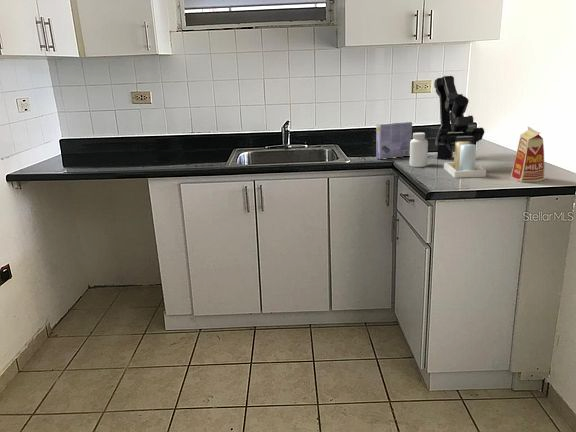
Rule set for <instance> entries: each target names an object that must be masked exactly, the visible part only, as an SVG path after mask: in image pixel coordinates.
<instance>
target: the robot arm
mask: <svg viewBox="0 0 576 432" xmlns="http://www.w3.org/2000/svg"><path fill="white" fill-rule="evenodd" d="M433 86H434V89H435V93H436V94H437V96H438V97H439V115H440V127H439V129H438V130H437V134H436V137H435V141H434V144H435V146H436V147H437V153H436V154H437V155H436V158H435V159H436V160H438V159H439V160H450V159H452V158H453V157H454V148H453V147H455V142H457V141H456V140H457V138H469V137H470V138H471V142H470V143H471V144H474V145H476V146H477V143H478V142H479V141H481V140H482V139H483V136H484V134H485V129H484V127H473V129H472V131H467V130H468V129H469V125H472V124H473V123H474V116H473V115H467V116H464V115H465V113H466V110H467V108H468V104H469V101H470V100H469V98H468V97H466V96H465V95H463V93H458V91H457V89H456V85H455V77H454V76H453V75H443V76H442V77H437V78H436V79H435V80H434V82H433Z"/></svg>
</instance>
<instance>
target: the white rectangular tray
mask: <svg viewBox="0 0 576 432" xmlns="http://www.w3.org/2000/svg"><path fill="white" fill-rule="evenodd" d="M443 169H444V170H445V171H446V172H447V173H449V175H450V176H452V177H453V178H454V179H459V178H460V179H463V178H486V177H487V170H486V169H485V168H483V167H481V166H480V165H479V164H477V163H475V170H472V171H459V169H454V161H452V162H450V161H449V162H443Z"/></svg>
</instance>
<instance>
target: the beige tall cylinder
mask: <svg viewBox="0 0 576 432" xmlns="http://www.w3.org/2000/svg"><path fill="white" fill-rule="evenodd" d="M462 144H471V142H470V141H468V140H463V141H462V140H459V141H458V140H457V141H456V142H455V146H454V153H453V157H454V158H453V159H454V161H453V162H454V169H459V163H460V145H462Z"/></svg>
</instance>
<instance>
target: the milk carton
mask: <svg viewBox="0 0 576 432" xmlns="http://www.w3.org/2000/svg"><path fill="white" fill-rule="evenodd" d="M540 134H541V132H540V131H537V130H535V129H533V128H532V127H531V126H527V130H526V131H524V132H523V133H521V134H520V135H519V140H518V145H517V149H516V155H515V157H514V162H513V167H512V169H511V172H510V178H512V179H515V180H517V181H518V182H519V183H526V182H528V183H531V182H541V181H545V147H544V138H543V137H542V136H541V135H540Z"/></svg>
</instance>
